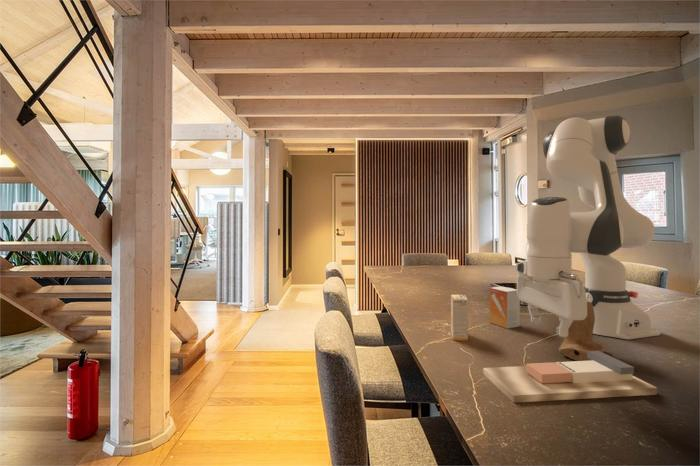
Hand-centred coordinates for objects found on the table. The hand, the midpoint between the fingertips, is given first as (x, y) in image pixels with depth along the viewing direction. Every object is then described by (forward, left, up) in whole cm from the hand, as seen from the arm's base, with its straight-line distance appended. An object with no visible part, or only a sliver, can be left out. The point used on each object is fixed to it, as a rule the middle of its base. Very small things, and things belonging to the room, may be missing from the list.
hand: (548, 329), depth 82 cm
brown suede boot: (-20, -17, -13) cm, 29 cm away
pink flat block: (0, 0, -11) cm, 11 cm away
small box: (-14, -46, -13) cm, 50 cm away
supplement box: (+7, -35, -13) cm, 38 cm away
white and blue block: (-11, 0, -11) cm, 16 cm away
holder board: (-4, 0, -13) cm, 13 cm away
